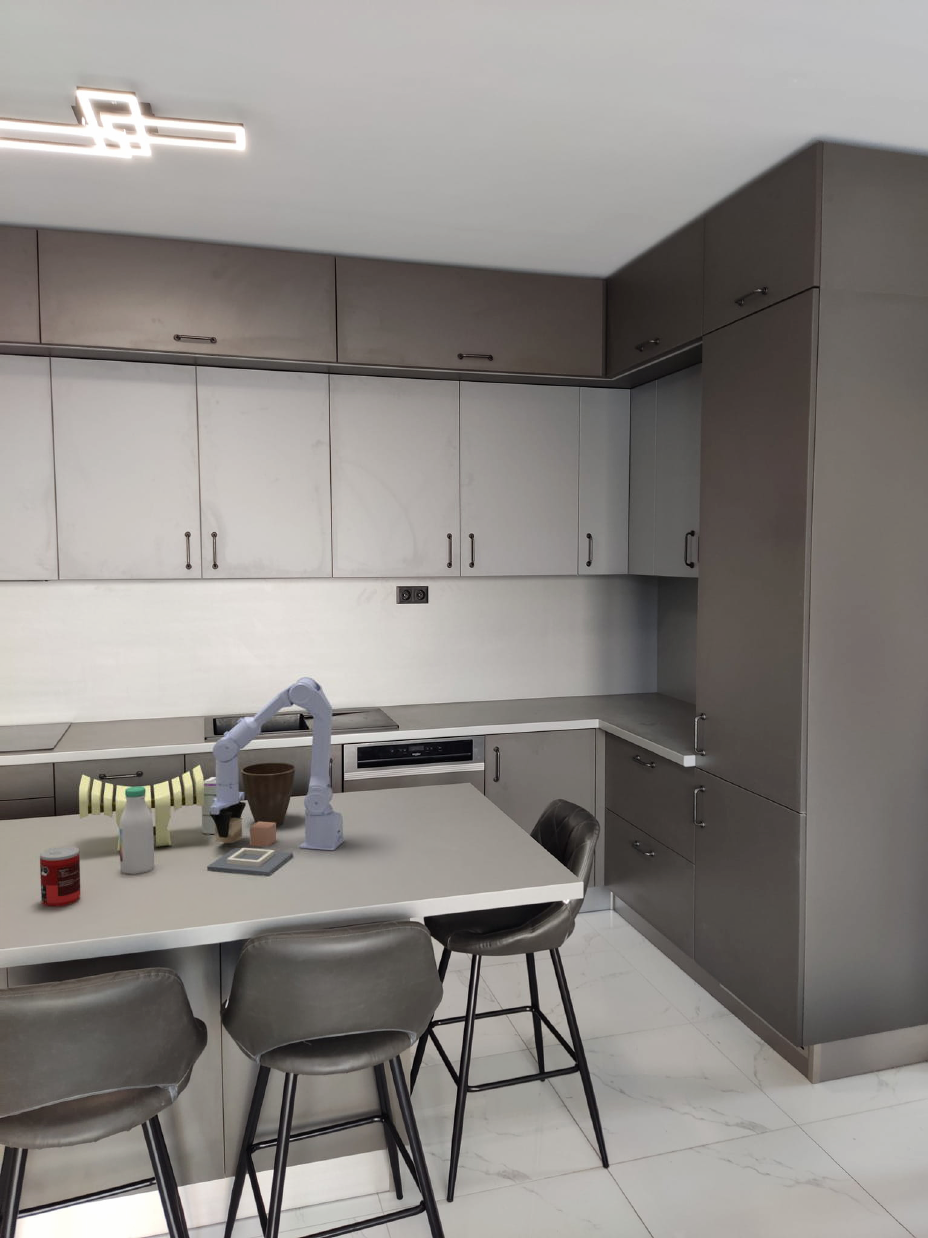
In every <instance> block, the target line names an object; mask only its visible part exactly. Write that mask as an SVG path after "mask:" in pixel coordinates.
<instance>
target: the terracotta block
mask: <svg viewBox="0 0 928 1238" xmlns="http://www.w3.org/2000/svg"><path fill="white" fill-rule="evenodd" d="M249 837H250V838H249V839H250V840H249V841H250V842H249V843H250V846H252V847H263V846H268V847H270V846H271V845H273V844H274V843H275V842H277V826H276V823H272V822H257V823H254V824H253V825H251V826H250V827H249ZM272 843H273V844H272ZM270 844H271V845H270Z"/></svg>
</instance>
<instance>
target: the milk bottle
mask: <svg viewBox="0 0 928 1238" xmlns="http://www.w3.org/2000/svg"><path fill="white" fill-rule="evenodd" d="M141 786H142V785H141ZM141 786H129V787H130V788H127V789H126V790H125V795H126V797H125V798H126V800H127V801H126V806H125V809H124V811H123V813H122V816H121V819H120V830H118V832H119V833H118V836H119V835H120V851H119V865H120V871H121V873H122V874H125V875H126V874H127V875H135V874H136V875H138V874H144V873H146V872H150V871H151V870H153V869H154V867H155V846H154V845H155V844H154V843H155V841H154V840H155V838H154V836H153V826H154V822H153V821H154V820H153V816H152V812H151V813H150V811H149V809H148V807H147V805H146V803H145V796H146V795H145V793H146V790H145V787H141Z"/></svg>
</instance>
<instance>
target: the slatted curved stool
mask: <svg viewBox="0 0 928 1238" xmlns="http://www.w3.org/2000/svg"><path fill="white" fill-rule="evenodd" d="M191 776H192V777H193V780H192V777H191ZM181 777H182V779H181V780H182V784H183V794H184V795H183V794H182V786H181V782H180V777H179V776H177V777H174V778H172V779H171V788H172V796H171V792H170V785H169V780H166V781H163V782H160V783H156V784H153V793H154V798H152V795H151V785H143V786H142V785H141V787H145V790H146V793H145V795H146V796H145V803H146V805H147V807H148V809H149V811H150V813H151V814H152V809H153V808H154V817H155V818H154V819H155V821H154V823H155V825H153V837H154V836H155V838H154V840H155V847H164V846H165V847H166V846H172V843H171V834H170V833H171V832H170V830H169V828H168V826H169V823H170V820H171V817H172V816H171V815H172V814H171V813H172V810H171V809H172V808H171V806H173V811H174V812H176V811H177V810H179V809H182V807H183V805H184V806H185V807H189V806H194V804H196V806H197V807H198V806H200V807H202V806H204V781H205V780H204V774H203V772H202V768H201V765H200V764H198V765H197V766H195V767H193V769H192V775H191V773H190V771H187V772H185V773H183V774H182V776H181ZM193 782H194V789H193ZM92 783H93V784H92V787H91V777H90V776H87V775H85V774H82V775H81V778H80V784H79V789H78V802H79V803H78V805H79V820H80V819H83V818H86V817H89V814H91V816H96V815H98V816H99V815H101V813H103V815H104V816H107V817H110V818H112V819H113V812H115V819H116V820H115V822H116V825H117V826H118V829H119V830H120V819H121V816H122V813H123V811H124V809H125V806H126V801H127V800H126V798H125V797H126V795H125V790H126V789H127V788H130V787H131V786H128V785H127V786H125V785H118V784H117V785H116V793H115V801H113V797H114V784H112V783H110V782H109V783H108V782H105V784H104V793H103V802H101V800H102V789H103V782H102V781H101V780H99V779H95V778H94V779H93V782H92ZM90 788H91V803H90ZM193 790H195V791H193ZM194 792H195V794H194ZM119 830H118V831H119ZM117 852H120V835H119V834H118V837H117Z"/></svg>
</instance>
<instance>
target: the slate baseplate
mask: <svg viewBox="0 0 928 1238" xmlns="http://www.w3.org/2000/svg"><path fill="white" fill-rule="evenodd" d="M292 858H294V853H293V852H291V851H289V852H288V851H277V850H275V849H273V850H272V849H263V848H250V847H249V848H248V847H242V848H240V847H234V848H233V849H231V850H230V851H228V852H227V853H225V854H224V855H222V856H221V857H219V858H218V859H216V860H215V861H214V862H212V863H211V864H209V865H208V866H207V867H206V868H207V871H209V872H216V873H217V872H219V873H228V874H242V875H250V876H251V875H253V876H262V875H264V876H265V877H270V875H272V874H273V873H274V872H275V871H276V870H278V869H279V868H280V867H282V866H284V864H285V863H286V862H288V861H289V860H290V859H292ZM271 873H272V874H271Z"/></svg>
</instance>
